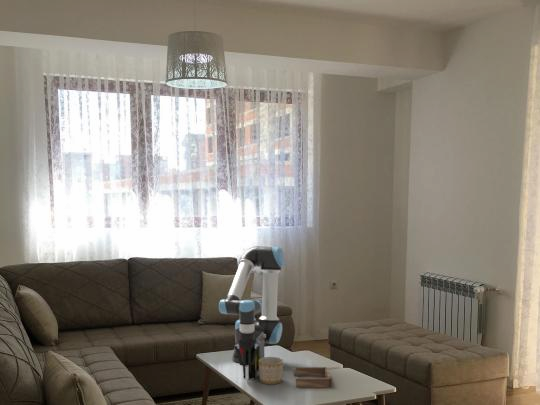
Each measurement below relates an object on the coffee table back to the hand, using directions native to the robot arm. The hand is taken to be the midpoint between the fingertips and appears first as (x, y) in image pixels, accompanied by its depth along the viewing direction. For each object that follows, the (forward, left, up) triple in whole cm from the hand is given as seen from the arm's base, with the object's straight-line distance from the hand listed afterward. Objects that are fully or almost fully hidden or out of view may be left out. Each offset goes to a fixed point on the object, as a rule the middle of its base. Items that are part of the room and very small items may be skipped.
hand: (247, 378), depth 272 cm
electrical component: (-14, +3, -2) cm, 14 cm away
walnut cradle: (-1, +32, -2) cm, 32 cm away
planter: (-1, +12, -2) cm, 12 cm away
